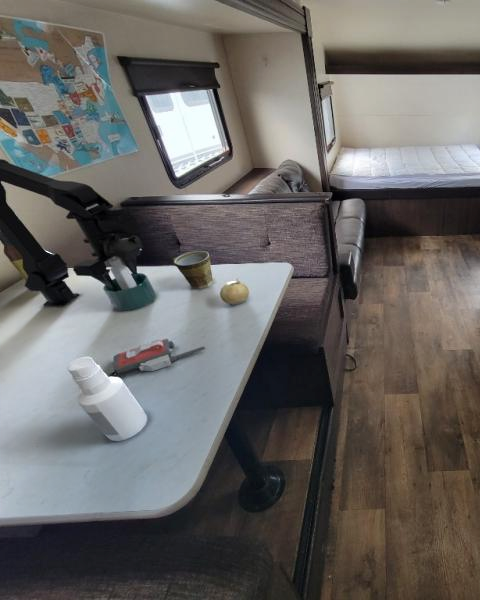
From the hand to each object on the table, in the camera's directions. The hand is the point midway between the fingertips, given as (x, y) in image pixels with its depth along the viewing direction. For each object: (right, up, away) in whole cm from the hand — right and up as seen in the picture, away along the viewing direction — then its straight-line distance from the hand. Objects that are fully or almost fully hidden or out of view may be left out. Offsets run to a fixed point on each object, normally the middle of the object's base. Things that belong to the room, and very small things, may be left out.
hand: (124, 281), depth 101 cm
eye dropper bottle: (0, -3, +2) cm, 4 cm away
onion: (+32, -6, +4) cm, 33 cm away
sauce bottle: (-39, 0, +14) cm, 41 cm away
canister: (0, -6, +4) cm, 7 cm away
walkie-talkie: (+23, -21, -17) cm, 36 cm away
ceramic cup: (+15, 0, +12) cm, 19 cm away
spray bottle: (+28, -32, -33) cm, 54 cm away
